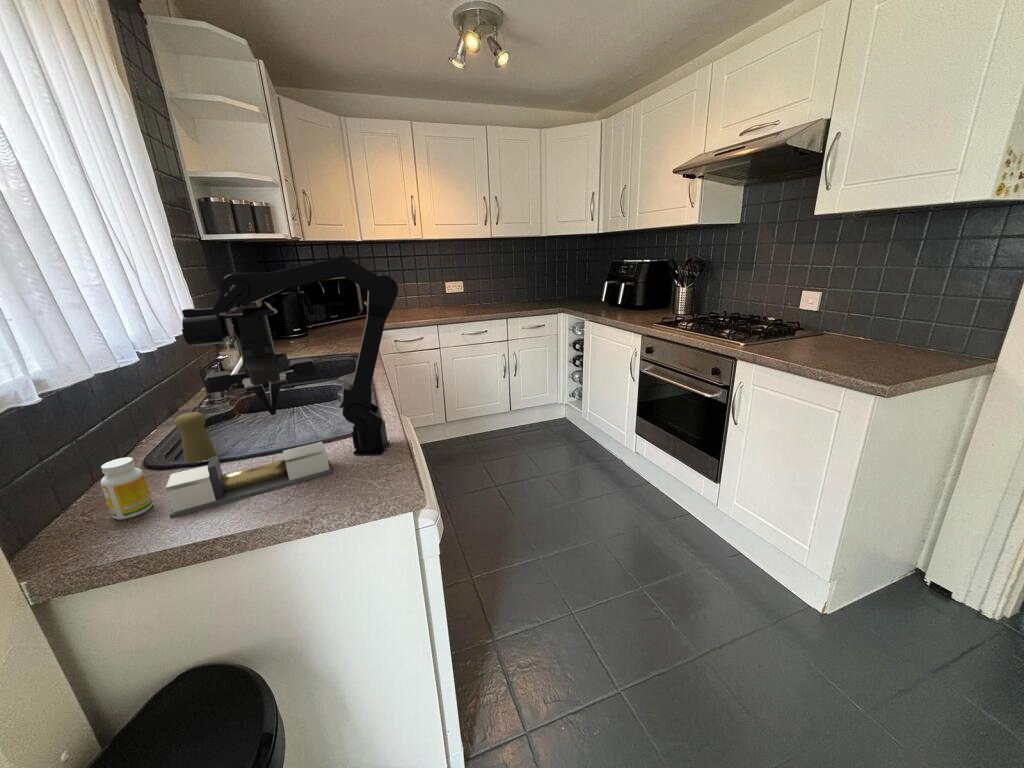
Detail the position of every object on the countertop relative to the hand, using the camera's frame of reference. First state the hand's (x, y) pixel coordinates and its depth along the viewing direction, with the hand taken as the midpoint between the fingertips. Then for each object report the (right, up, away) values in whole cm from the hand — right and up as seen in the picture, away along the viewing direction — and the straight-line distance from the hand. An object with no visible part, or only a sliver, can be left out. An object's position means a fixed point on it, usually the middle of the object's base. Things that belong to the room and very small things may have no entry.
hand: (273, 414), depth 83 cm
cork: (-21, -11, +8) cm, 25 cm away
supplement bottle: (-18, -16, -12) cm, 27 cm away
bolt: (-2, -13, -6) cm, 15 cm away
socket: (-8, -15, -10) cm, 19 cm away
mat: (0, -14, -5) cm, 14 cm away
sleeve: (+7, -11, 0) cm, 13 cm away
